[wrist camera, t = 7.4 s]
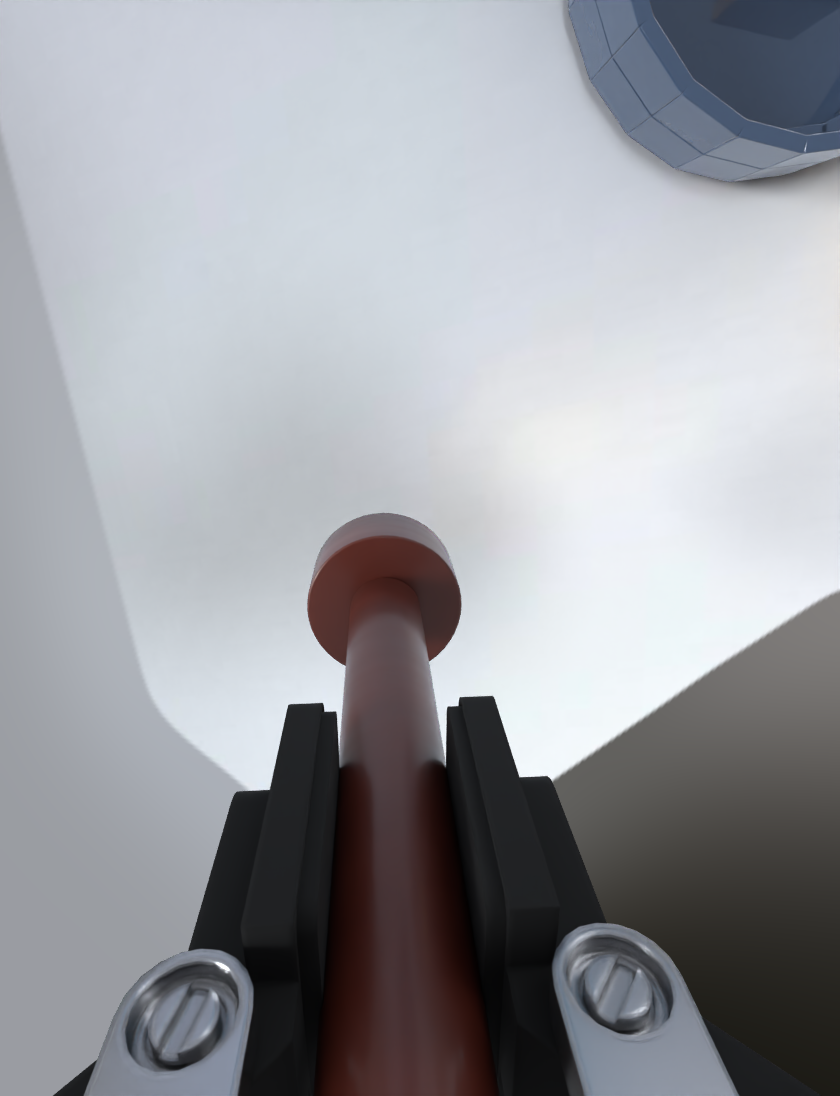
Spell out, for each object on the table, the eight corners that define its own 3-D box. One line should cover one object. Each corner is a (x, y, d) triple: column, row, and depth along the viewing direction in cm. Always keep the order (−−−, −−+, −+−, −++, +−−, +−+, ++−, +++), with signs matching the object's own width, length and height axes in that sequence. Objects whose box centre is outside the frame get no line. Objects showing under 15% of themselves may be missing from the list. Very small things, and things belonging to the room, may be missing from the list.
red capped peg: (289, 604, 18) (86, 1317, 5) (354, 487, 17) (300, 1013, 4) (409, 661, 19) (489, 1386, 6) (478, 552, 18) (747, 1151, 5)
